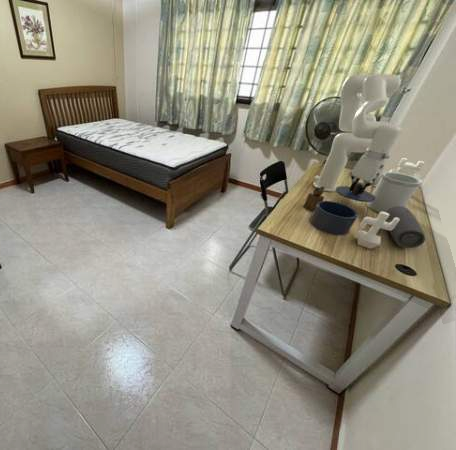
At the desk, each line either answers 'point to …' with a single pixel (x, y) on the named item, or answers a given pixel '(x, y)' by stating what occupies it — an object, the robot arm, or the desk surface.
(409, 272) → the desk surface
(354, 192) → the pot lid
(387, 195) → the utensil holder
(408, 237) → the bluetooth speaker
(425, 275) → the desk surface
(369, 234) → the figurine
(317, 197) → the toy bear
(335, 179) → the robot arm
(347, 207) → the pot
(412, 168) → the white branched piece
